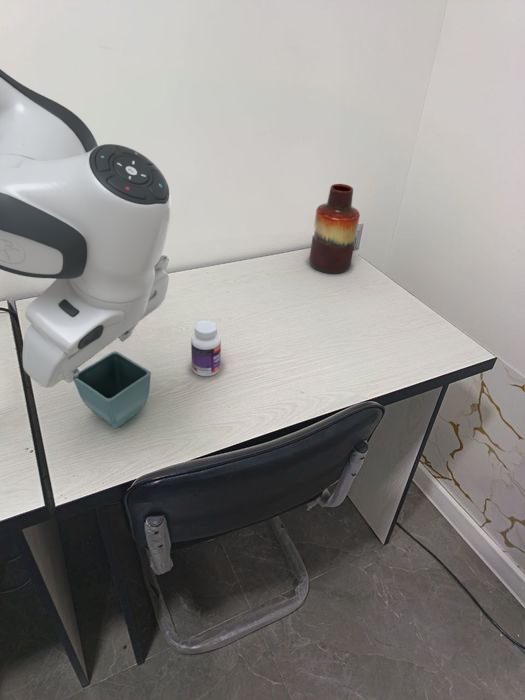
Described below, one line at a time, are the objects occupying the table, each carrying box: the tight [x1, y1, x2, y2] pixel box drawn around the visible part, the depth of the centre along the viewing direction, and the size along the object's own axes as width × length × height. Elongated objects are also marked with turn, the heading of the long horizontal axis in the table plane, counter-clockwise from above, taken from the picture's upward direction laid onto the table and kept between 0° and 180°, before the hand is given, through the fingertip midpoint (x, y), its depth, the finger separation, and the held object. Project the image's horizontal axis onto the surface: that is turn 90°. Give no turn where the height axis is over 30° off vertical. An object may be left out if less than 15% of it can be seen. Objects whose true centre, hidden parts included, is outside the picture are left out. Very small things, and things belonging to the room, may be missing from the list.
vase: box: [308, 183, 361, 275], centre depth 124 cm, size 11×11×20 cm
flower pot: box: [73, 350, 152, 429], centre depth 81 cm, size 9×9×9 cm
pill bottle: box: [190, 319, 222, 377], centre depth 91 cm, size 5×5×10 cm
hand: (96, 355), depth 65 cm, fingers open, 8 cm apart
